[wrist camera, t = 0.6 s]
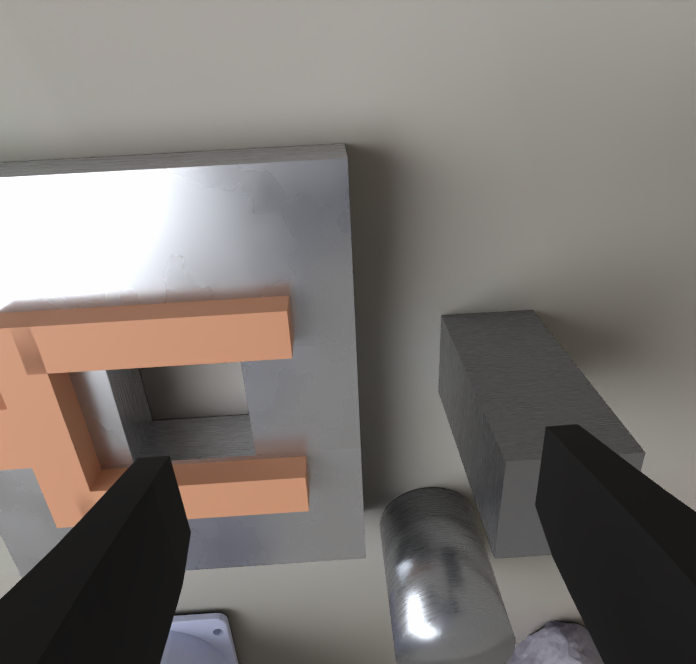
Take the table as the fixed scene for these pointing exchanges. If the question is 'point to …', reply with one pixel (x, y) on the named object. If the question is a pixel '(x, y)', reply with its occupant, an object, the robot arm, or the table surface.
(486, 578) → the stub post
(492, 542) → the grey rectangular box
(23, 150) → the table surface
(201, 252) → the silver base plate
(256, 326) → the bracket
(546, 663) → the stone block
